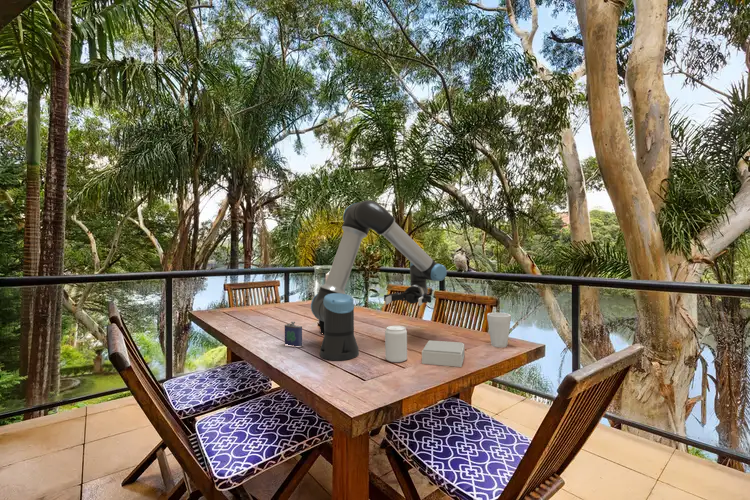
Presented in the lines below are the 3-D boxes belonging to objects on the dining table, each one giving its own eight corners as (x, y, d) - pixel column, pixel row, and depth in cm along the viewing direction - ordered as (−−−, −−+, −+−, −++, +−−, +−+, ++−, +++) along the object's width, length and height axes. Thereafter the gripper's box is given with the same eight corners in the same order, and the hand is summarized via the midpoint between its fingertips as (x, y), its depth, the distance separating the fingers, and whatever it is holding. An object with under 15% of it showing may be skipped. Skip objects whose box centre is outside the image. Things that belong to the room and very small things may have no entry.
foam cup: (486, 347, 153) (486, 315, 153) (488, 341, 162) (488, 312, 162) (510, 349, 150) (510, 317, 149) (511, 343, 158) (511, 313, 158)
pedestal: (421, 363, 133) (421, 349, 133) (428, 352, 147) (428, 340, 147) (461, 367, 129) (461, 352, 129) (464, 355, 143) (464, 342, 142)
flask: (303, 346, 157) (303, 321, 157) (299, 348, 155) (298, 323, 154) (287, 344, 162) (286, 319, 162) (282, 346, 159) (282, 321, 159)
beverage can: (405, 363, 134) (405, 330, 133) (383, 362, 135) (383, 329, 135) (408, 356, 141) (408, 325, 141) (387, 355, 143) (387, 325, 143)
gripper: (441, 303, 164) (433, 312, 144) (387, 301, 172) (373, 309, 152) (441, 286, 164) (433, 293, 144) (387, 285, 172) (372, 291, 152)
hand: (402, 301), depth 148 cm, fingers open, 13 cm apart
